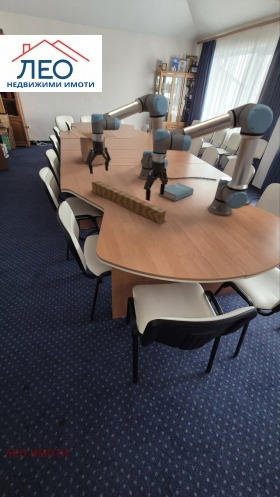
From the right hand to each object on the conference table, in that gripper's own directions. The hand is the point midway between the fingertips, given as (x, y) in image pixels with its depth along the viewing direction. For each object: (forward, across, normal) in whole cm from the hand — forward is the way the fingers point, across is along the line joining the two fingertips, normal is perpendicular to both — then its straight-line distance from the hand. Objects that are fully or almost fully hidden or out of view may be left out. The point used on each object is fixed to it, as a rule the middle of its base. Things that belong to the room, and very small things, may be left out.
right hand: (154, 197), depth 135 cm
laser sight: (+14, +90, +77) cm, 120 cm away
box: (+14, +49, +123) cm, 133 cm away
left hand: (-1, +1, +54) cm, 54 cm away
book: (+14, +44, +12) cm, 47 cm away
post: (+14, 0, +26) cm, 29 cm away
